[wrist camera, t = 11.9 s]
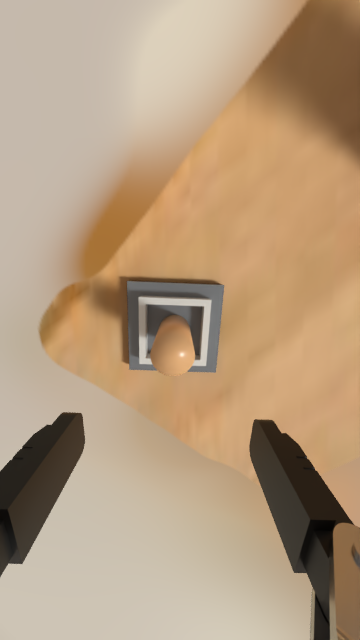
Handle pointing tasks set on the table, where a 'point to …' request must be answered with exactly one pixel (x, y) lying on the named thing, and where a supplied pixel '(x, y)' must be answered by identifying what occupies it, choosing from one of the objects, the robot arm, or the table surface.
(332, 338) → the table surface
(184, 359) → the brown peg
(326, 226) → the table surface
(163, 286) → the housing
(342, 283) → the table surface
